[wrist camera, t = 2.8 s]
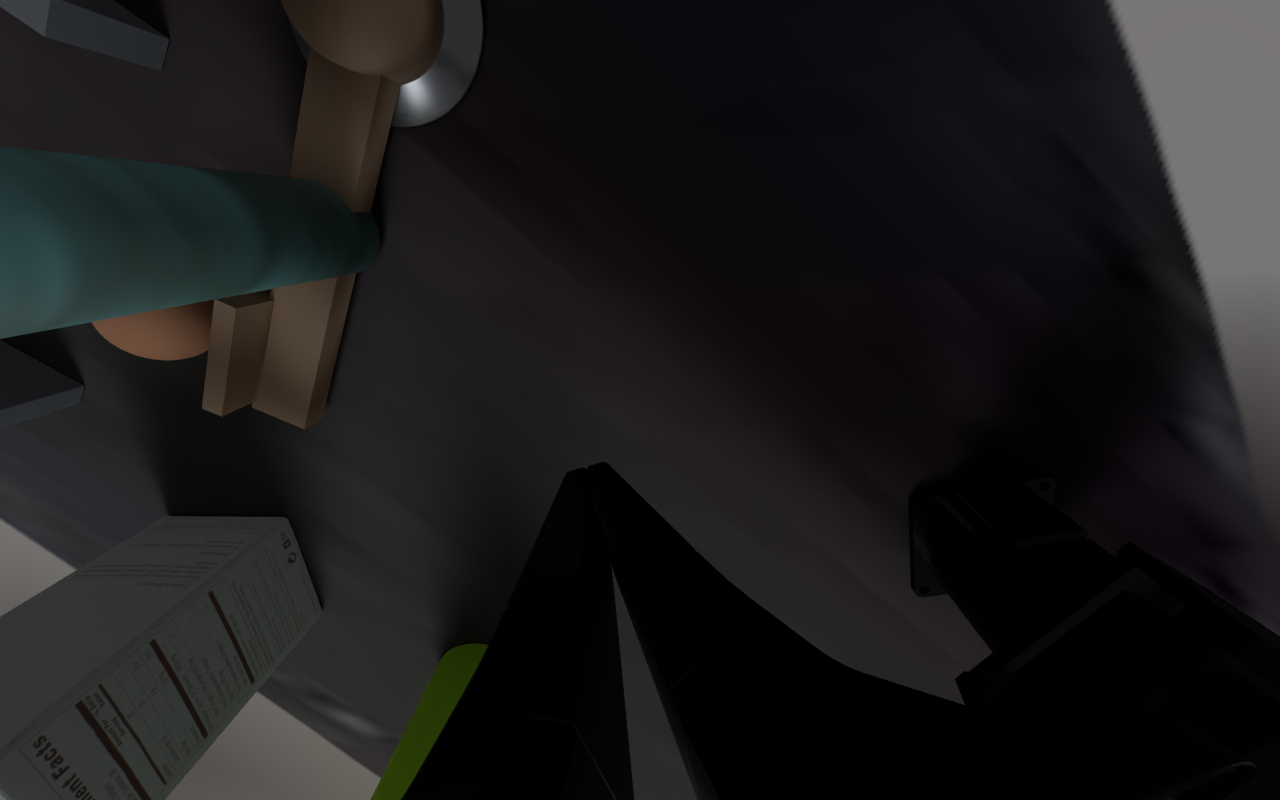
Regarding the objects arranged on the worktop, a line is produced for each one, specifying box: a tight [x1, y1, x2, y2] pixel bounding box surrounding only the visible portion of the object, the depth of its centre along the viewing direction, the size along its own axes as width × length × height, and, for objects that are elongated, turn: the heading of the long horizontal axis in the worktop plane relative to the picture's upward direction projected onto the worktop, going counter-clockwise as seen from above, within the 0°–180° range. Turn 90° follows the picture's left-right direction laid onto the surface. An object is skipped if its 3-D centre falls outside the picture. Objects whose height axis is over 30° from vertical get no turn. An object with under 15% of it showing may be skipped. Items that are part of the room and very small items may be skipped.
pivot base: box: [289, 0, 485, 128], centre depth 16 cm, size 7×7×1 cm
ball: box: [92, 300, 214, 360], centre depth 19 cm, size 4×4×4 cm
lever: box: [0, 0, 444, 429], centre depth 13 cm, size 19×4×12 cm, turn 154°
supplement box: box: [0, 516, 322, 800], centre depth 21 cm, size 7×7×13 cm
